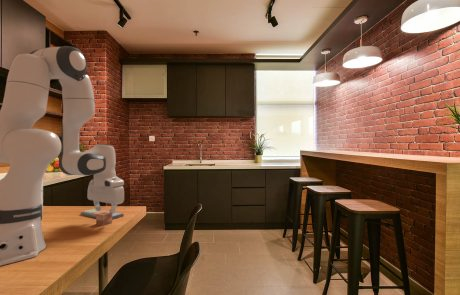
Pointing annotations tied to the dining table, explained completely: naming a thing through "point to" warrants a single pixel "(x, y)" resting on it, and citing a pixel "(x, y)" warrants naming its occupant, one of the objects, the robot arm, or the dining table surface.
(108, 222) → the terracotta cube
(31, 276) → the dining table surface
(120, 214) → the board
